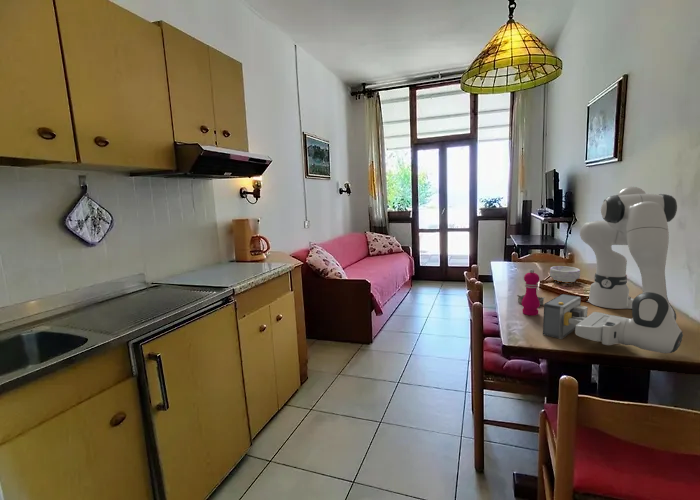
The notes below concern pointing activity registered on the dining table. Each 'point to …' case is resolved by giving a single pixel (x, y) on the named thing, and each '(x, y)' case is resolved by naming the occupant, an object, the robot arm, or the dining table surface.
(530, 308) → the pepper mill
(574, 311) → the black button
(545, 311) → the console
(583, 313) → the white button
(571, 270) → the paper bowls
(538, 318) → the dining table surface
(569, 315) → the amber button
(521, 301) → the egg carton
